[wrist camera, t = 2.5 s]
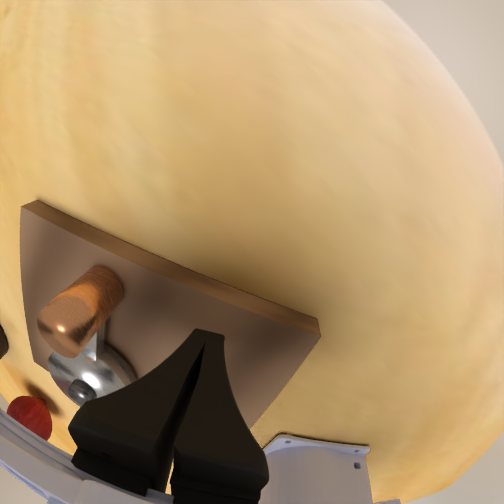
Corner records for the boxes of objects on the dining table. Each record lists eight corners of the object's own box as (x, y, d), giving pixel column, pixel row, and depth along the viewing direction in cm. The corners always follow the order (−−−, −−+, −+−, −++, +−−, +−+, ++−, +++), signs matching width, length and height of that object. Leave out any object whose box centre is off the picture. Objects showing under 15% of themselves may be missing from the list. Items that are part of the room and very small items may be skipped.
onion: (19, 374, 21) (-15, 418, 14) (54, 395, 21) (20, 447, 14) (34, 403, 24) (7, 444, 16) (68, 423, 24) (41, 469, 16)
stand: (317, 318, 15) (328, 380, 11) (231, 438, 20) (223, 482, 16) (37, 199, 13) (-16, 222, 9) (42, 351, 19) (16, 382, 14)
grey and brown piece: (134, 410, 17) (114, 454, 13) (65, 373, 16) (39, 410, 13) (158, 293, 13) (120, 350, 9) (61, 245, 12) (7, 281, 8)
